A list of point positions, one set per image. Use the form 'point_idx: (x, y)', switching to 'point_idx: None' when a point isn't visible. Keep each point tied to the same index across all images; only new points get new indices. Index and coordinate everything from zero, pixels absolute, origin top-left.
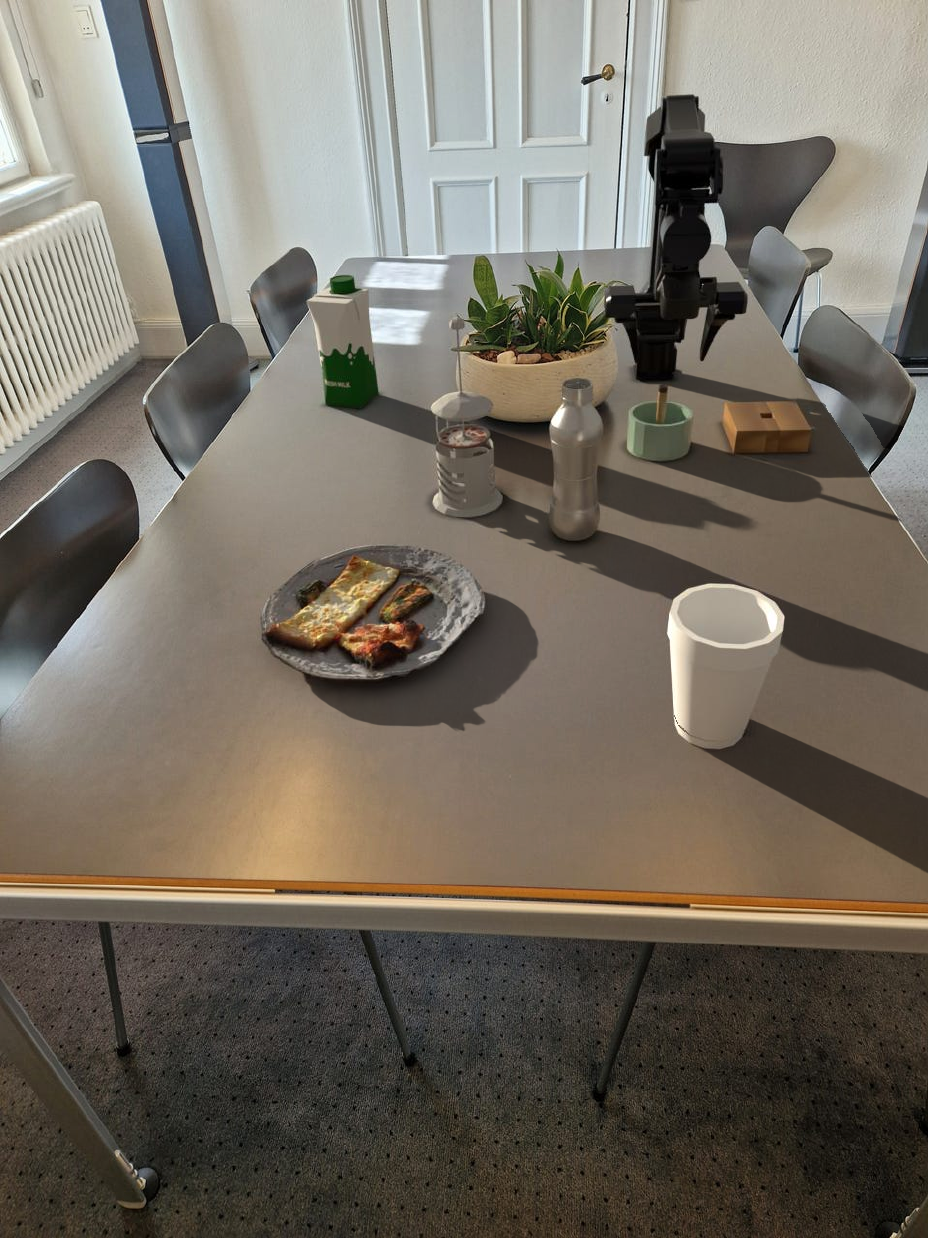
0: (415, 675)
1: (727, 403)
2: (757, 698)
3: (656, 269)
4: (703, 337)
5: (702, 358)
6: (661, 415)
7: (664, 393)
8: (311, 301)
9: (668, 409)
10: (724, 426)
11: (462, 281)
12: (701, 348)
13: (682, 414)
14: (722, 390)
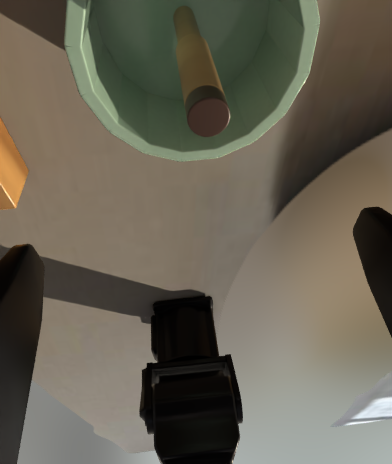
0: None
1: (7, 203)
2: None
3: None
4: (10, 378)
5: (15, 253)
6: (192, 41)
7: (199, 84)
8: None
9: (163, 134)
10: (15, 150)
11: (350, 407)
12: (23, 309)
13: (116, 104)
14: (65, 284)
